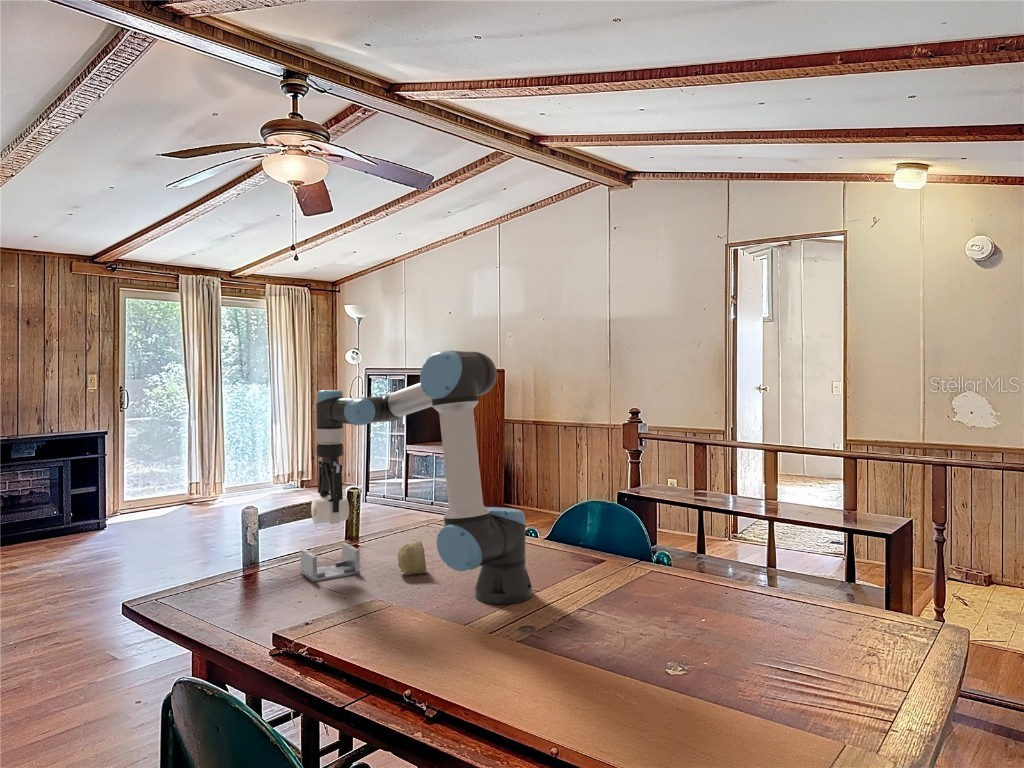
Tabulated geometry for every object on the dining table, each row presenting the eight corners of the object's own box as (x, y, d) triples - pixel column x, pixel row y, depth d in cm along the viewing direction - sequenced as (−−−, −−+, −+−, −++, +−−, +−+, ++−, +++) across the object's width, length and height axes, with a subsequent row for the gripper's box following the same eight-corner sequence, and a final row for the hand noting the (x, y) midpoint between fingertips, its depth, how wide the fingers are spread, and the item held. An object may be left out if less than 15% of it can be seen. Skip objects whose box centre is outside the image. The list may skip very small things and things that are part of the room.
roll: (341, 519, 212) (340, 496, 213) (350, 520, 207) (348, 496, 207) (311, 523, 207) (310, 499, 208) (319, 524, 202) (318, 499, 202)
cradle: (346, 565, 217) (346, 542, 216) (359, 573, 207) (359, 550, 207) (300, 572, 209) (300, 549, 209) (312, 582, 200) (312, 557, 199)
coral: (438, 553, 204) (405, 541, 202) (423, 585, 204) (391, 573, 202) (436, 542, 213) (405, 531, 211) (422, 573, 213) (391, 561, 211)
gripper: (354, 445, 201) (354, 525, 201) (330, 439, 217) (330, 513, 218) (328, 446, 196) (329, 529, 197) (306, 440, 213) (306, 516, 214)
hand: (330, 520), depth 207 cm, fingers closed on roll, 7 cm apart
